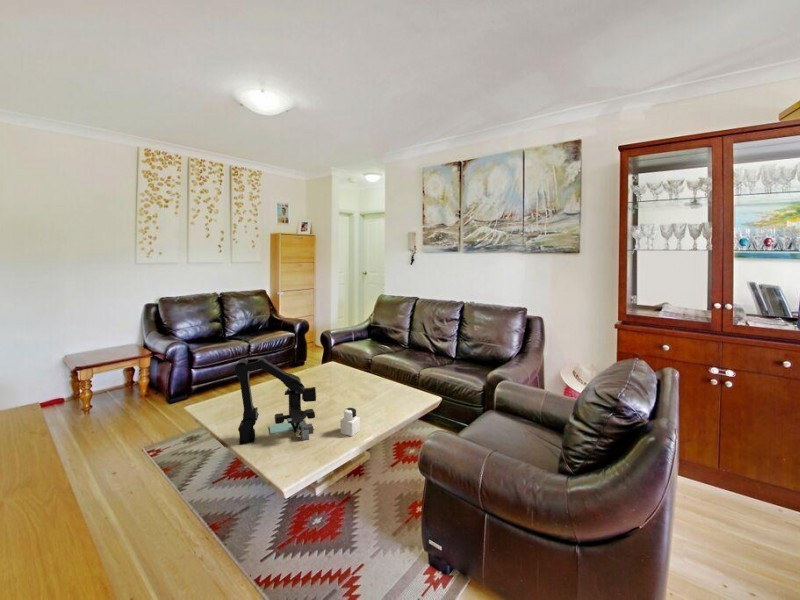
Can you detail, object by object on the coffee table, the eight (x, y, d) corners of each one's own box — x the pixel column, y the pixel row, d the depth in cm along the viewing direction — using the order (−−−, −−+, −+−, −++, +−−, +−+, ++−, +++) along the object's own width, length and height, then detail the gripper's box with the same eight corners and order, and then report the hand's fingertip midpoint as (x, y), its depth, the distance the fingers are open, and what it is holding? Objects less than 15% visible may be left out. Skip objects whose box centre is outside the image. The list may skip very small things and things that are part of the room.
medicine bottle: (348, 427, 189) (348, 405, 188) (360, 430, 186) (359, 408, 184) (340, 433, 183) (339, 410, 181) (352, 436, 180) (351, 413, 178)
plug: (296, 436, 180) (296, 429, 179) (295, 433, 183) (295, 426, 183) (314, 433, 183) (314, 426, 183) (313, 429, 187) (313, 423, 186)
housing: (302, 440, 176) (302, 430, 175) (298, 427, 189) (297, 417, 188) (309, 439, 177) (308, 429, 176) (303, 426, 190) (303, 416, 189)
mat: (270, 434, 182) (270, 433, 182) (269, 426, 190) (269, 425, 190) (299, 429, 187) (299, 428, 187) (296, 421, 195) (296, 420, 195)
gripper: (276, 411, 168) (277, 443, 170) (317, 405, 176) (317, 436, 177) (274, 402, 178) (274, 433, 180) (312, 397, 186) (313, 426, 188)
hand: (295, 432), depth 181 cm, fingers closed
